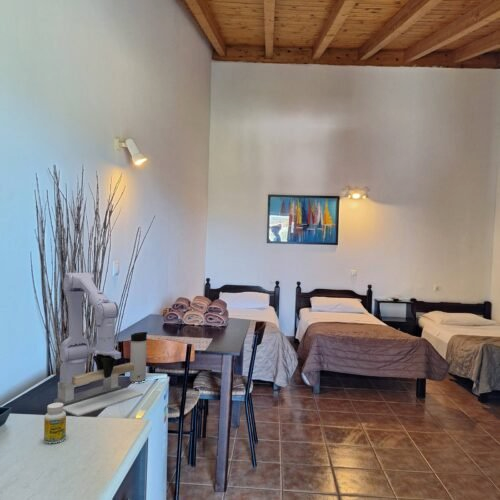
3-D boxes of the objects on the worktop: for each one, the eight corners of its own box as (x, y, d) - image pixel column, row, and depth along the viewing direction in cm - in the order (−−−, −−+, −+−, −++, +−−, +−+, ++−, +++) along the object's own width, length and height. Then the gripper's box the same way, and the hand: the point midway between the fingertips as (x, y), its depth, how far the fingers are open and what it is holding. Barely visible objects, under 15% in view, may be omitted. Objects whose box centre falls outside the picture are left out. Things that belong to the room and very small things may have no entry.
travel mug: (142, 384, 160) (143, 333, 160) (126, 383, 161) (128, 332, 162) (149, 379, 166) (150, 331, 167) (134, 378, 167) (135, 330, 168)
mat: (60, 409, 133) (60, 407, 133) (126, 389, 154) (126, 387, 154) (77, 416, 127) (77, 414, 127) (143, 394, 148) (143, 393, 148)
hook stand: (53, 403, 138) (54, 382, 138) (111, 386, 157) (111, 368, 157) (63, 407, 135) (63, 386, 135) (121, 389, 153) (121, 371, 154)
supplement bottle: (61, 434, 115) (62, 400, 115) (68, 440, 111) (69, 405, 111) (41, 439, 111) (42, 404, 111) (47, 446, 107) (48, 410, 107)
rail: (72, 384, 132) (72, 376, 132) (129, 369, 151) (129, 362, 151) (76, 385, 131) (76, 378, 131) (134, 370, 149) (134, 363, 149)
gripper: (83, 336, 142) (82, 375, 142) (108, 341, 134) (107, 383, 133) (101, 333, 148) (100, 370, 147) (126, 338, 139) (125, 378, 139)
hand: (104, 376), depth 141 cm, fingers closed on rail, 2 cm apart
